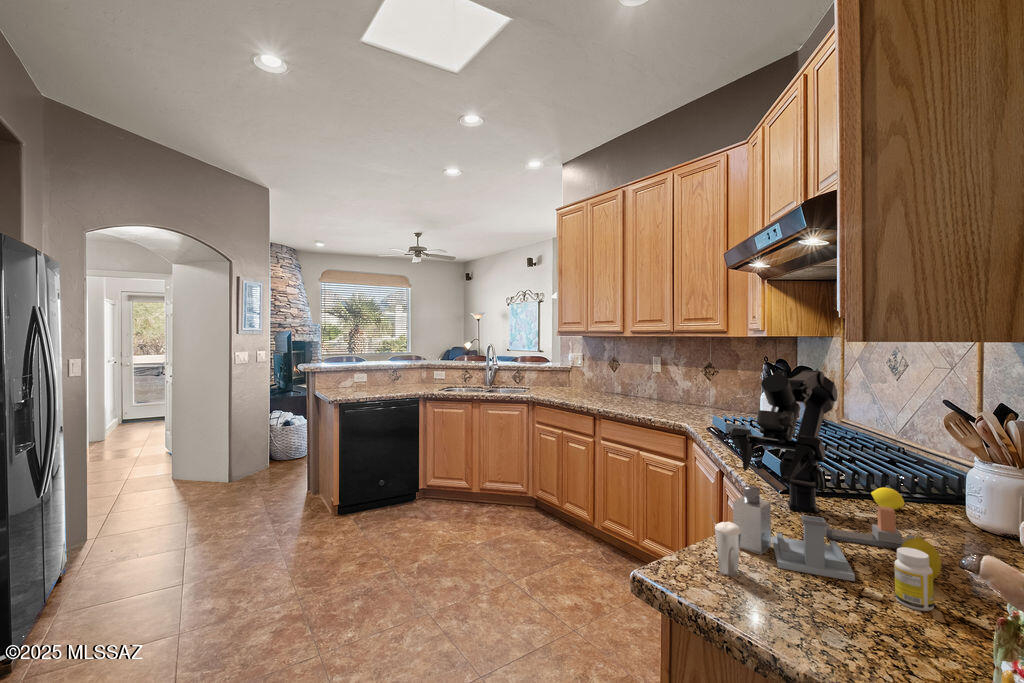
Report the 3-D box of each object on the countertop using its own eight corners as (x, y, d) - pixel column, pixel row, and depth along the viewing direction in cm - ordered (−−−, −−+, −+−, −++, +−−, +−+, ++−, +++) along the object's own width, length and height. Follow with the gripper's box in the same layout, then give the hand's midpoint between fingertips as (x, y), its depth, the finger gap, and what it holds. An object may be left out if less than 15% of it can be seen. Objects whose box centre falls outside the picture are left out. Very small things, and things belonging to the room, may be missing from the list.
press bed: (772, 541, 98) (771, 495, 98) (838, 551, 93) (838, 503, 93) (778, 568, 86) (777, 516, 86) (855, 582, 81) (854, 526, 81)
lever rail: (823, 532, 103) (823, 523, 103) (913, 544, 96) (913, 535, 96) (826, 538, 99) (826, 529, 99) (920, 552, 92) (920, 542, 92)
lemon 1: (906, 511, 117) (910, 491, 116) (898, 516, 114) (901, 495, 113) (874, 500, 122) (877, 481, 122) (865, 504, 120) (868, 484, 119)
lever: (872, 533, 99) (871, 504, 99) (895, 536, 98) (894, 506, 98) (878, 540, 95) (877, 510, 95) (902, 544, 94) (901, 513, 94)
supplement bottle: (918, 596, 76) (917, 546, 77) (942, 612, 72) (940, 559, 72) (887, 595, 77) (886, 545, 77) (909, 611, 72) (908, 558, 72)
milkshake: (716, 562, 89) (715, 511, 89) (745, 571, 85) (744, 518, 85) (707, 570, 86) (706, 517, 86) (736, 580, 82) (735, 525, 82)
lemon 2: (893, 578, 82) (892, 534, 83) (910, 572, 85) (909, 529, 85) (931, 593, 77) (930, 546, 77) (948, 586, 80) (947, 540, 80)
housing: (744, 538, 100) (743, 482, 100) (771, 546, 96) (770, 487, 96) (733, 546, 96) (732, 487, 96) (761, 554, 92) (760, 493, 92)
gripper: (732, 394, 112) (713, 445, 104) (821, 400, 98) (806, 459, 90) (745, 423, 117) (727, 473, 109) (831, 433, 103) (817, 491, 95)
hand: (766, 473), depth 101 cm, fingers open, 9 cm apart
